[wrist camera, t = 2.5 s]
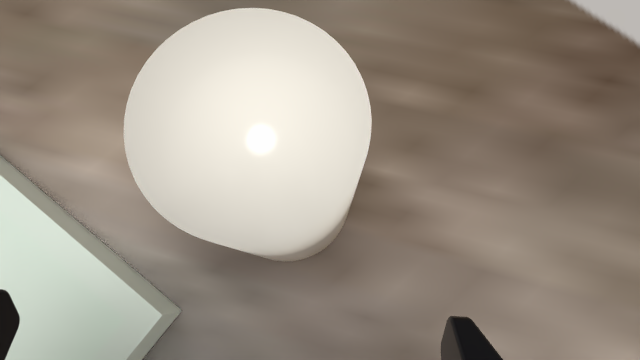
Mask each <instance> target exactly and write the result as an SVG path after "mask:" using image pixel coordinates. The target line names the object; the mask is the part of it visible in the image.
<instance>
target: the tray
mask: <svg viewBox="0 0 640 360" xmlns="http://www.w3.org/2000/svg"><path fill="white" fill-rule="evenodd" d="M0 289H3V290H6V291H7V292H8V293H9V294H10V296H11V298H12V301H13V303H14V305H15V307H16V309H17V311H18V313H19V316H20V324H19V327H18V330H17V332H16V335H15V337H14V340H13V342H12V344H11V347H10V349H9V351H8V354H7V356H6V358H5V360H142V359H143V358H144V357H145V355H146V354H147V353H148V352H149V350H150V349H151V348H152V347H153V346H154V344H155V343H156V342H157V341H158V339H159V338H160V337H161V336H162V334H163V333H164V332H165V331H166V330H167V328H168V327H169V326H170V325H171V323H172V322H173V321H174V320H175V318H176V317H177V316H178V315H179V314H180V312H181V311H182V310H181V309H180V308H179V307H177V306H176V305H175V304H174V303H173V302H172V301H170V300H169V299H168V298H167V297H166V296H165V295H163V294H162V293H161V292H160V291H159V290H158V289H156V288H155V287H154V286H153V285H152V284H151V283H149V282H148V281H147V280H146V279H145V278H144V277H142V276H141V275H140V274H139V273H138V272H137V271H135V270H134V269H133V268H132V267H131V266H129V265H128V264H127V263H126V262H125V261H124V260H122V259H121V258H120V257H119V256H118V255H117V254H115V253H114V252H113V251H112V250H111V249H110V248H108V247H107V246H106V245H105V244H104V243H103V242H101V241H100V240H99V239H98V238H97V237H96V236H94V235H93V234H92V233H91V232H90V231H89V230H87V229H86V228H85V227H84V226H83V225H81V224H80V223H79V222H78V221H77V220H76V219H74V218H73V217H72V216H71V215H70V214H69V213H67V212H66V211H65V210H64V209H63V208H62V207H60V206H59V205H58V204H57V203H56V202H55V201H53V200H52V199H51V198H50V197H49V196H48V195H46V194H45V193H44V192H43V191H42V190H41V189H39V188H38V187H37V186H36V185H35V184H33V183H32V182H31V181H30V180H29V179H28V178H26V177H25V176H24V175H23V174H22V173H21V172H19V171H18V170H17V169H16V168H15V167H14V166H12V165H11V164H10V163H9V162H8V161H7V160H5V159H4V158H3V157H2V156H1V155H0Z"/></svg>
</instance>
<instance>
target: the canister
mask: <svg viewBox="0 0 640 360" xmlns="http://www.w3.org/2000/svg"><path fill="white" fill-rule="evenodd" d="M371 123H372V121H371V108H370V103H369V98H368V93H367V90H366V87H365V84H364V82H363V79H362V77H361V75H360V73H359V71H358V69H357V67H356V65H355V63H354V62H353V61H352V59H351V58H350V56H349V55H348V54H347V52H346V51H345V50H344V49H343V48H342V47H341V46H340V45H339V43H338V42H337V41H336V40H335V39H333V38H332V37H331V36H330V35H328V34H327V33H326V32H325V31H323V30H322V29H320V28H319V27H317V26H315V25H314V24H312V23H310V22H308V21H306V20H304V19H302V18H300V17H297V16H294V15H291V14H288V13H285V12H281V11H276V10H271V9H261V8H243V9H233V10H227V11H222V12H218V13H215V14H212V15H208V16H206V17H203V18H201V19H199V20H196V21H194V22H192V23H190V24H189V25H187V26H185V27H183V28H182V29H180V30H178V31H177V32H176V33H175V34H173V35H172V36H171V37H169V38H168V39H167V40H166V41H165V42H164V43H163V44H162V45H160V46H159V47H158V48H157V49H156V50H155V52H154V53H153V54H152V55H151V57H150V58H149V59H148V60H147V62H146V63H145V64H144V66H143V68H142V69H141V71H140V73H139V74H138V76H137V78H136V80H135V83H134V85H133V87H132V89H131V92H130V95H129V99H128V102H127V106H126V112H125V118H124V143H125V152H126V156H127V160H128V163H129V167H130V169H131V172H132V174H133V177H134V179H135V182H136V183H137V185H138V187H139V188H140V190H141V192H142V193H143V195H144V196H145V198H146V199H147V200H148V201H149V203H150V204H151V205H152V206H153V208H154V209H155V210H157V211H158V212H159V213H160V214H161V215H162V216H163V217H164V218H165V219H166V220H168V221H169V222H171V223H172V224H173V225H175V226H176V227H178V228H179V229H181V230H183V231H185V232H187V233H189V234H191V235H193V236H195V237H198V238H201V239H204V240H206V241H209V242H213V243H216V244H219V245H223V246H226V247H230V248H233V249H236V250H240V251H243V252H247V253H250V254H254V255H257V256H260V257H264V258H267V259H271V260H276V261H285V262H286V261H297V260H302V259H305V258H308V257H311V256H313V255H315V254H317V253H319V252H320V251H322V250H323V249H325V248H326V247H327V246H328V245H329V244H331V243H332V241H333V240H334V239H335V238H336V237H337V235H338V234H339V232H340V231H341V229H342V227H343V225H344V223H345V220H346V217H347V215H348V211H349V208H350V205H351V202H352V199H353V196H354V193H355V190H356V187H357V184H358V181H359V178H360V175H361V172H362V169H363V166H364V163H365V160H366V156H367V153H368V148H369V143H370V138H371Z"/></svg>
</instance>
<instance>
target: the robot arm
mask: <svg viewBox="0 0 640 360" xmlns="http://www.w3.org/2000/svg"><path fill="white" fill-rule="evenodd" d="M19 324H20V316H19V313H18V311H17V309H16V307H15V305H14V303H13V301H12V298H11V296H10V294H9V293H8V292H7V291H6V290H3V289H0V360H5V358H6V356H7V354H8V351H9V349H10V347H11V344H12V342H13V340H14V337H15V335H16V332H17V330H18V327H19ZM441 360H503V359H502V358H501V356H500V355H499V354H498V353H497V351H496V350H495V349H494V348H493V346H492V345H491V344H490V342H489V341H488V340H487V339H486V337H485V336H484V335H483V334H482V332H481V331H480V330H479V328H478V327H477V326H476V325H475V323H474V322H473V321H472V320H471V319H470V318H468V317H459V316H450V317H449V318H448V320H447V323H446V327H445V330H444V334H443V338H442V342H441Z"/></svg>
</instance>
